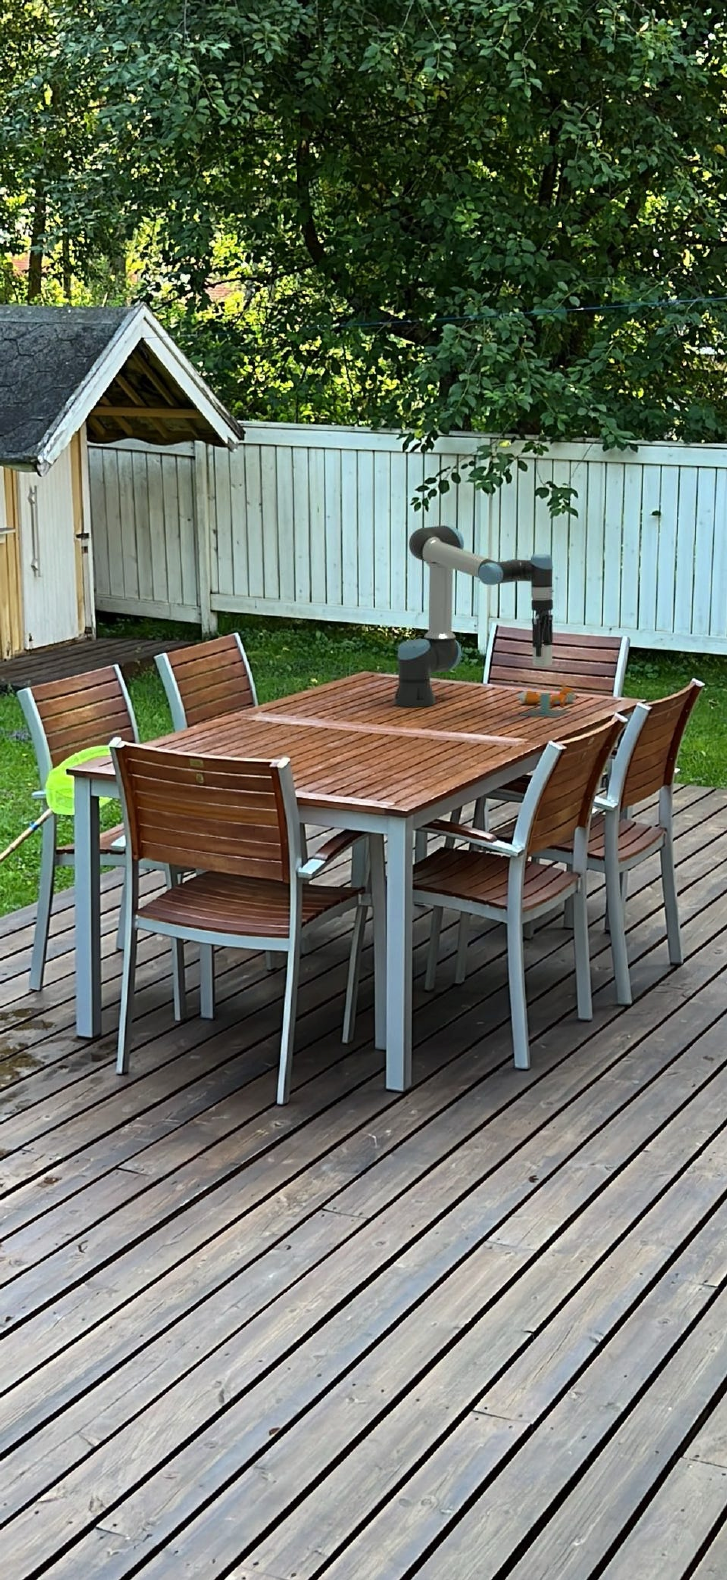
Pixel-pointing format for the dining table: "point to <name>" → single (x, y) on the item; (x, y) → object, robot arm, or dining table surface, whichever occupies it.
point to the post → (544, 703)
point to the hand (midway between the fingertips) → (543, 664)
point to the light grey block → (547, 655)
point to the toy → (563, 698)
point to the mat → (552, 713)
